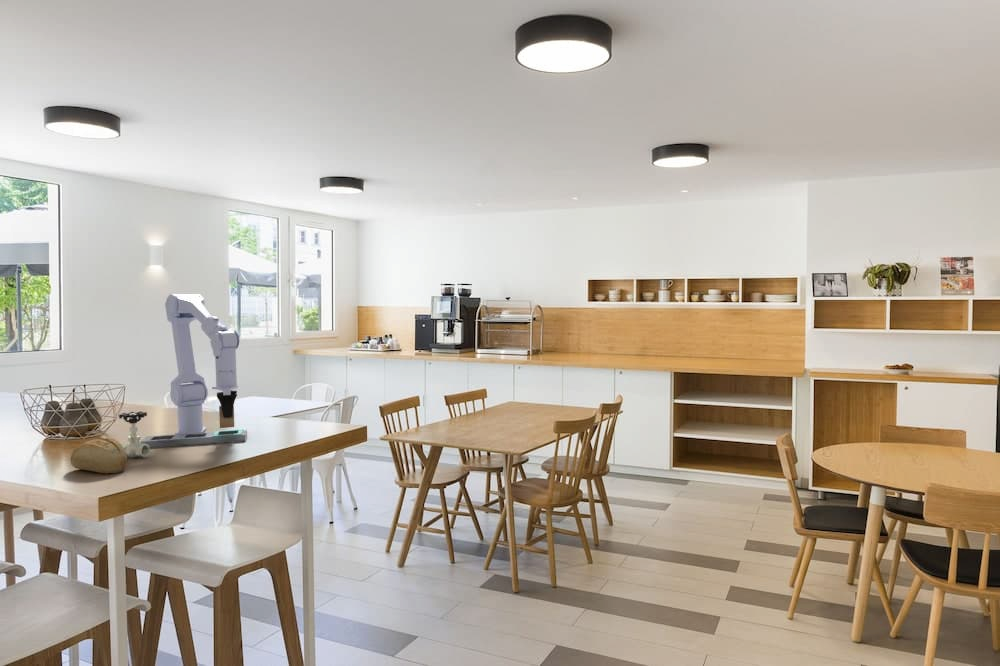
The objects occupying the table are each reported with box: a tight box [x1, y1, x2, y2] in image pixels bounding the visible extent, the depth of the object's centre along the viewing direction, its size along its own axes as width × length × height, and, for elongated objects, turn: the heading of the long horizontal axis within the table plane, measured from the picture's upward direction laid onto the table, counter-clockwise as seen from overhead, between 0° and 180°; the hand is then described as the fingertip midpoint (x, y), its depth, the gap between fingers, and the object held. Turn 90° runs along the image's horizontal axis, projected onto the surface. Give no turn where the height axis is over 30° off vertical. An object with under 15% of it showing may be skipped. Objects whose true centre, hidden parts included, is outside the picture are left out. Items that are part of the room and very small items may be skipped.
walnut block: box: [218, 405, 235, 429], centre depth 206 cm, size 4×4×6 cm
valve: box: [118, 410, 151, 459], centre depth 184 cm, size 7×7×12 cm
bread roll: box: [69, 437, 128, 475], centre depth 170 cm, size 10×15×8 cm, turn 71°
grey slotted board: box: [140, 428, 248, 449], centre depth 203 cm, size 8×28×2 cm, turn 106°
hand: (227, 416), depth 206 cm, fingers closed on walnut block, 4 cm apart
